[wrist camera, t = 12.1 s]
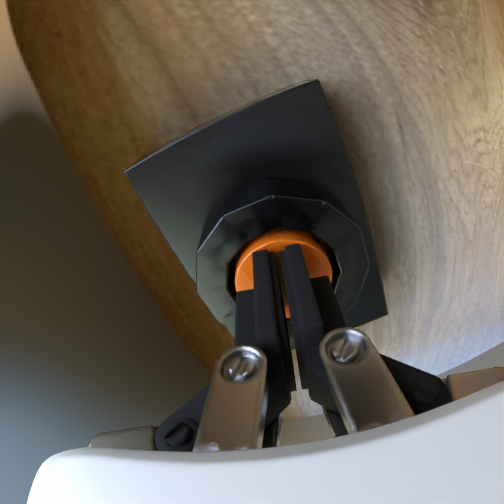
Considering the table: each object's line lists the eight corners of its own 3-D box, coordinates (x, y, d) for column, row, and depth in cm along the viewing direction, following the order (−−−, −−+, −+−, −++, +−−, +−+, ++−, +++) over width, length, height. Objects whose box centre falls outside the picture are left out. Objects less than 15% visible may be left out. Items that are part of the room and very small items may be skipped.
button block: (375, 289, 17) (400, 338, 13) (251, 335, 18) (252, 388, 15) (307, 79, 11) (332, 77, 8) (140, 158, 13) (104, 187, 9)
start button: (332, 274, 13) (342, 299, 11) (257, 302, 14) (259, 329, 12) (306, 203, 11) (315, 224, 10) (220, 239, 12) (217, 263, 11)
